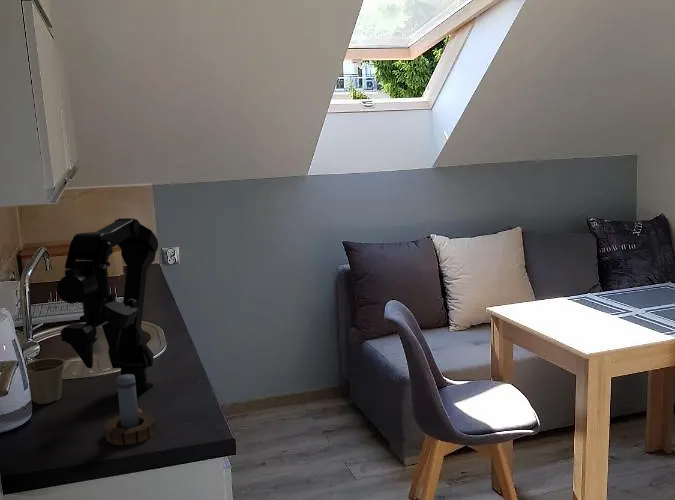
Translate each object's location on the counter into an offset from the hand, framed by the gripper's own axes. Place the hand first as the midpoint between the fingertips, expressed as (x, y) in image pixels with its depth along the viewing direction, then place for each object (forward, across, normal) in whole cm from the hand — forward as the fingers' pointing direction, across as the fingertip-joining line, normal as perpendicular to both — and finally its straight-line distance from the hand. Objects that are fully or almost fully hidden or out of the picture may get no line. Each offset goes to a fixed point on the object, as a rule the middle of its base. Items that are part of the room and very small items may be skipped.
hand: (102, 360), depth 151 cm
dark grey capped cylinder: (+13, -7, -10) cm, 18 cm away
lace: (+13, +2, -6) cm, 14 cm away
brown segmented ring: (+13, -7, -10) cm, 18 cm away
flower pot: (+13, +6, +20) cm, 25 cm away
